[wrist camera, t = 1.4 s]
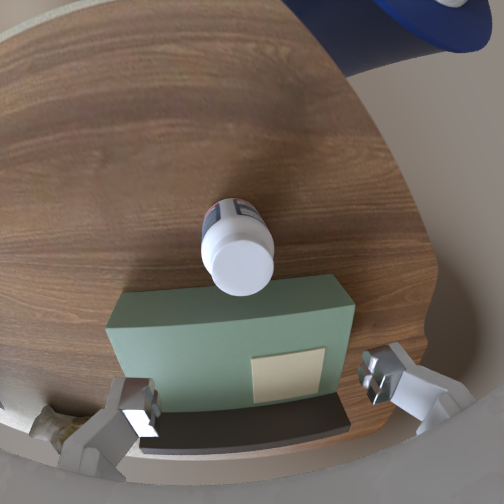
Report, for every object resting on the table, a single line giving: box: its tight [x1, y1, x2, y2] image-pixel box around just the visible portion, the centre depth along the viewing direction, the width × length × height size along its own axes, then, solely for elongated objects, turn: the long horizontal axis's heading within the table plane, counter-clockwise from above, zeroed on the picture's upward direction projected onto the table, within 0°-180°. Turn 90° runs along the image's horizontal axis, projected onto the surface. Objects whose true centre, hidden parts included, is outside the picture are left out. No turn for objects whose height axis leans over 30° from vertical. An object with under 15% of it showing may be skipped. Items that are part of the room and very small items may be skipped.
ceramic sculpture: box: [29, 406, 91, 454], centre depth 32 cm, size 11×9×15 cm
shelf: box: [105, 274, 356, 455], centre depth 26 cm, size 14×22×11 cm, turn 92°
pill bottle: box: [201, 198, 274, 296], centre depth 22 cm, size 5×5×9 cm
